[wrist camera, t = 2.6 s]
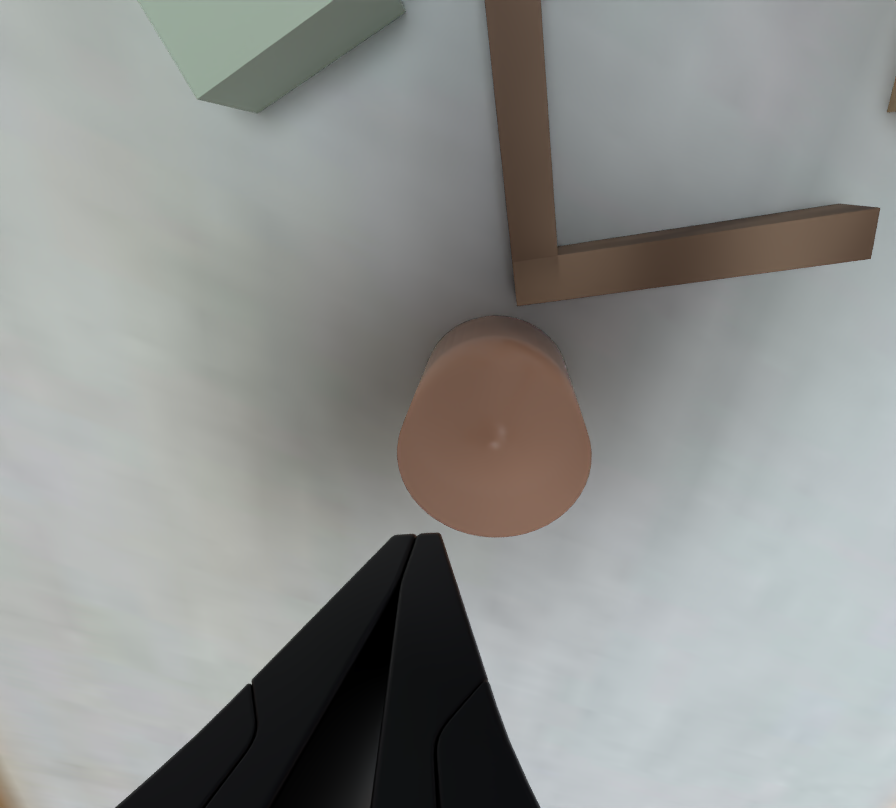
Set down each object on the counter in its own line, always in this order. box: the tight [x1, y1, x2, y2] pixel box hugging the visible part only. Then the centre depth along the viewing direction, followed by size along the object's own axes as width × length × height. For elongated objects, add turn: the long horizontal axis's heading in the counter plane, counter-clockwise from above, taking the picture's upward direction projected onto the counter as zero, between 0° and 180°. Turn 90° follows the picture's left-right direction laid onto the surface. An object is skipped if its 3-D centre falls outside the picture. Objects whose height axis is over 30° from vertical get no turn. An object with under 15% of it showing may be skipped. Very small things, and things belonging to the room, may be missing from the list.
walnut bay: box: [485, 0, 880, 306], centre depth 14 cm, size 11×14×2 cm
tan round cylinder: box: [397, 316, 591, 537], centre depth 18 cm, size 6×6×6 cm
